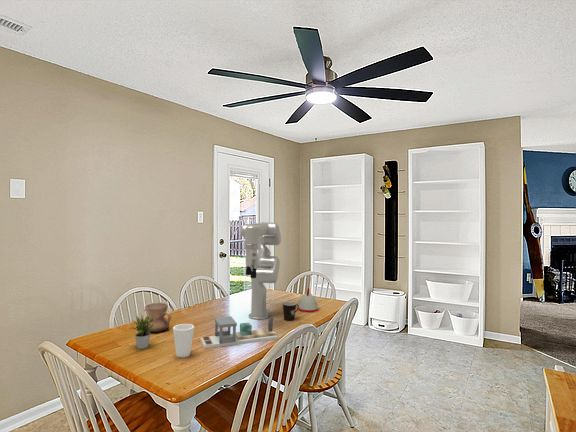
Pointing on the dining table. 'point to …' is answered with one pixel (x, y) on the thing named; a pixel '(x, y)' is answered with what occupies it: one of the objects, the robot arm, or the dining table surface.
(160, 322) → the ceramic jug
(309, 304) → the grey service bell
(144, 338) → the house plant
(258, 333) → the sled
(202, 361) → the dining table surface
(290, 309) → the coffee mug
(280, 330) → the dining table surface
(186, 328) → the foam cup
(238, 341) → the tunnel board
